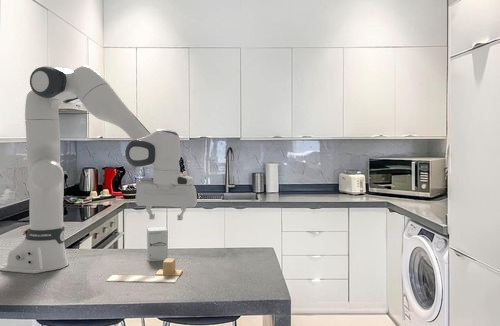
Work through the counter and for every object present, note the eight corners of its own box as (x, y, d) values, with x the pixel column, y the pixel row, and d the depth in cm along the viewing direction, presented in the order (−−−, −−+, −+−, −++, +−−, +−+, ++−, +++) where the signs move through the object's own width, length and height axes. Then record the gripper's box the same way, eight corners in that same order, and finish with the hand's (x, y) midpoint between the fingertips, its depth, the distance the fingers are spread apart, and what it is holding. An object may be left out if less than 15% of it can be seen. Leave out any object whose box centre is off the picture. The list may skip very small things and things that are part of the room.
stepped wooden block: (155, 276, 152) (155, 262, 152) (159, 271, 158) (159, 257, 158) (179, 276, 152) (179, 262, 152) (182, 271, 157) (182, 258, 157)
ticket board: (102, 285, 146) (102, 280, 146) (116, 273, 159) (116, 269, 159) (177, 287, 145) (177, 282, 145) (185, 275, 158) (185, 270, 158)
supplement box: (147, 265, 170) (147, 230, 170) (146, 259, 177) (146, 227, 177) (168, 263, 172) (167, 230, 172) (166, 258, 179) (166, 226, 179)
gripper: (132, 178, 151) (132, 220, 152) (194, 179, 150) (194, 222, 151) (138, 176, 157) (138, 217, 158) (198, 178, 156) (197, 219, 157)
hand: (166, 219), depth 154 cm, fingers open, 8 cm apart
